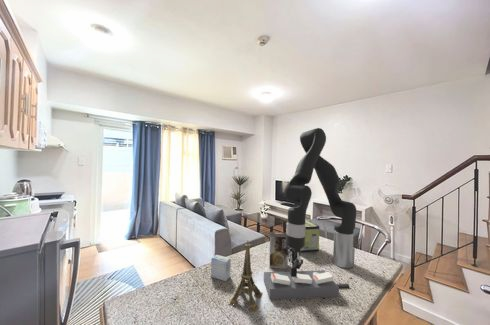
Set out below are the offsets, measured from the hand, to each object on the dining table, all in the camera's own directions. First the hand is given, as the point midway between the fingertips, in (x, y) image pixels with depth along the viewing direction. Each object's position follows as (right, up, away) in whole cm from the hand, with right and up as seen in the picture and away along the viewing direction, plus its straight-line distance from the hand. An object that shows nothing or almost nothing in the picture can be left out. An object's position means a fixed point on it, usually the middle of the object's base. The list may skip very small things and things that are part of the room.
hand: (293, 275), depth 83 cm
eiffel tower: (-19, -7, -5) cm, 21 cm away
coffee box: (-3, -7, +21) cm, 23 cm away
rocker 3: (+13, -1, +1) cm, 13 cm away
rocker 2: (+4, -1, 0) cm, 4 cm away
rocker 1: (-5, -1, -1) cm, 6 cm away
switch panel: (+7, -7, +3) cm, 11 cm away
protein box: (+16, -7, +42) cm, 46 cm away
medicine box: (-31, -6, +9) cm, 33 cm away
